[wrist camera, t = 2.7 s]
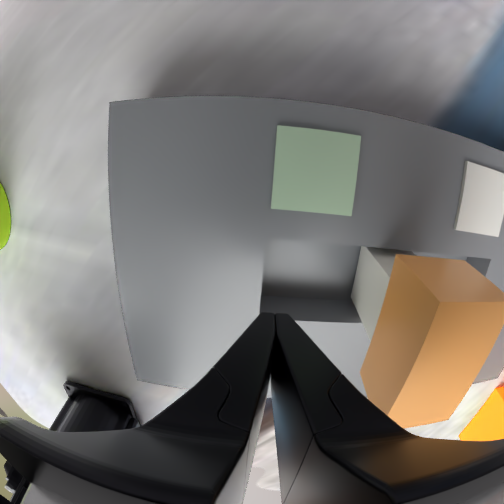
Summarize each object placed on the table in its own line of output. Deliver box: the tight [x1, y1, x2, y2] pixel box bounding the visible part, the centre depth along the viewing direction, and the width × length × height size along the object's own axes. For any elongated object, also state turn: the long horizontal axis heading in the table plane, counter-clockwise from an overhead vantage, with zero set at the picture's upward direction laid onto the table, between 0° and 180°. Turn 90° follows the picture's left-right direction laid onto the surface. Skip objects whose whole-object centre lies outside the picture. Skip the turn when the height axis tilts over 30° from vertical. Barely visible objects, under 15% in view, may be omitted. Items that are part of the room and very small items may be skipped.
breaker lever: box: [351, 246, 504, 428], centre depth 10 cm, size 3×5×7 cm, turn 176°
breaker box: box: [108, 96, 504, 398], centre depth 13 cm, size 24×14×3 cm, turn 86°
